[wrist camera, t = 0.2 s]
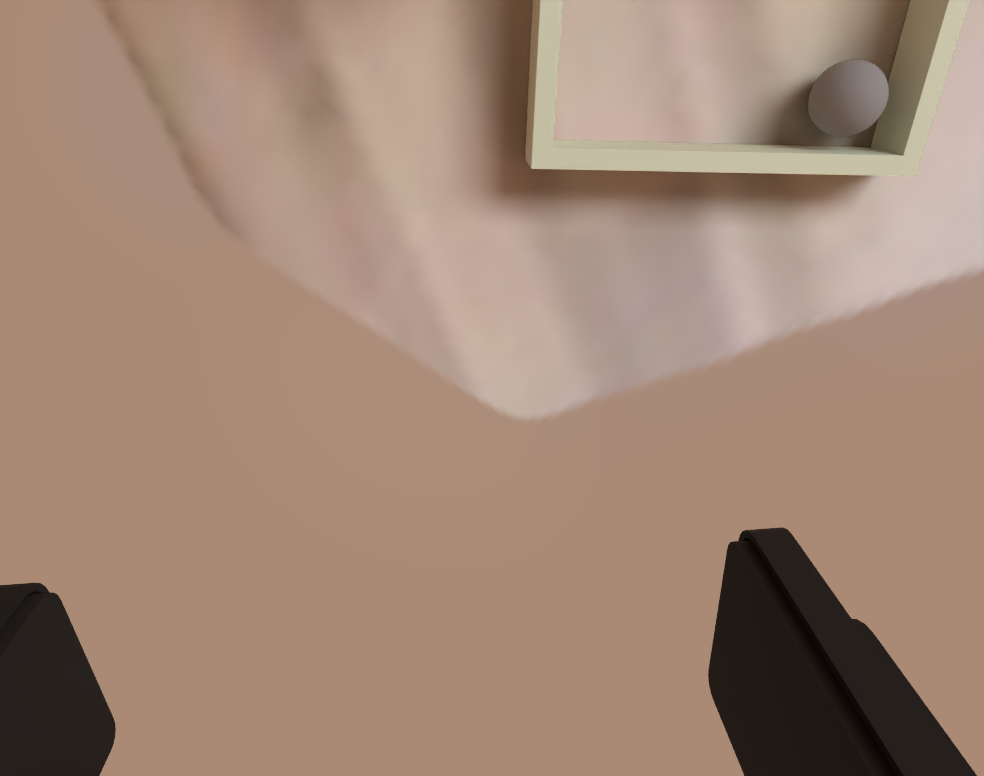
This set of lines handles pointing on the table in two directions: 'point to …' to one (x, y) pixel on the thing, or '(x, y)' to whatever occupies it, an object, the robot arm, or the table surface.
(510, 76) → the table surface
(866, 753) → the robot arm
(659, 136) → the table surface
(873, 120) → the mixing ball
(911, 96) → the tray frame
